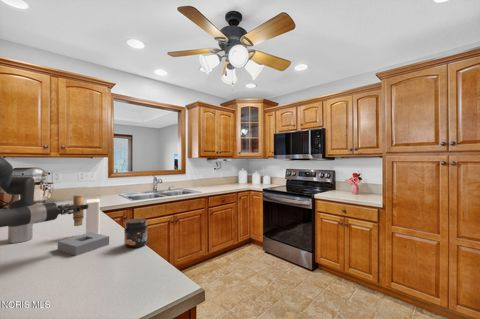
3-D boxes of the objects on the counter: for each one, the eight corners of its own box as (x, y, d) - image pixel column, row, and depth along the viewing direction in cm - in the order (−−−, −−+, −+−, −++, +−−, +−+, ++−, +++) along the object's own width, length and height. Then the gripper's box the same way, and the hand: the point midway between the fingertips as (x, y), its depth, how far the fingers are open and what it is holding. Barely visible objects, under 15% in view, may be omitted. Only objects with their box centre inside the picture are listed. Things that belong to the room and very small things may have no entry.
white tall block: (98, 235, 125) (99, 196, 125) (85, 237, 122) (86, 197, 122) (99, 232, 130) (99, 194, 130) (86, 234, 127) (87, 195, 127)
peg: (70, 225, 104) (71, 195, 105) (80, 223, 108) (80, 194, 108) (75, 226, 103) (76, 196, 103) (85, 224, 106) (85, 195, 106)
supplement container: (118, 247, 108) (119, 222, 108) (136, 240, 118) (136, 217, 118) (135, 250, 104) (135, 224, 104) (152, 242, 114) (152, 219, 114)
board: (57, 249, 104) (57, 241, 104) (90, 239, 118) (90, 232, 118) (76, 255, 98) (76, 246, 98) (109, 244, 111) (109, 236, 111)
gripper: (50, 205, 90) (93, 199, 105) (32, 202, 96) (76, 197, 111) (49, 224, 89) (93, 215, 105) (32, 220, 96) (76, 212, 111)
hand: (84, 206), depth 108 cm, fingers closed on peg, 4 cm apart
